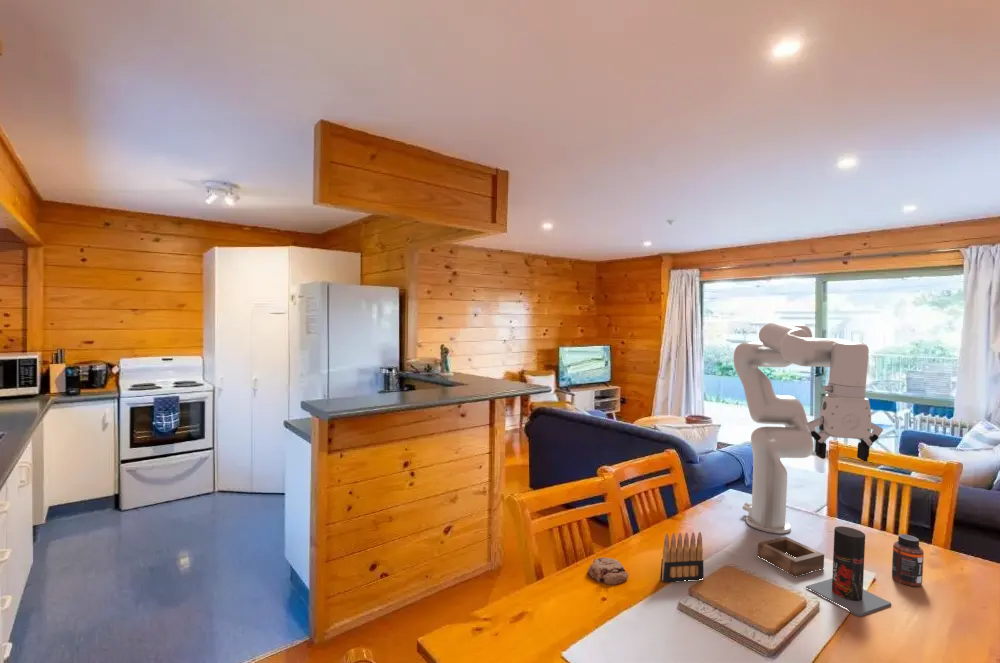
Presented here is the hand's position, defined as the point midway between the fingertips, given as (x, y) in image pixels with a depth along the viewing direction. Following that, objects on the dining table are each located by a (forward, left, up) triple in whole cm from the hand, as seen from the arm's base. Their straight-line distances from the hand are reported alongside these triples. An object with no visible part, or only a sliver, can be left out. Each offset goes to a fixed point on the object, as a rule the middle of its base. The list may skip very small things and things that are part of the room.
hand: (841, 458), depth 122 cm
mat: (+6, -5, -31) cm, 32 cm away
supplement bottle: (+7, +17, -31) cm, 36 cm away
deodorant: (+6, -5, -31) cm, 32 cm away
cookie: (-23, -53, -32) cm, 66 cm away
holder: (-10, -3, -31) cm, 33 cm away
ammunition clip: (-14, -37, -31) cm, 51 cm away
